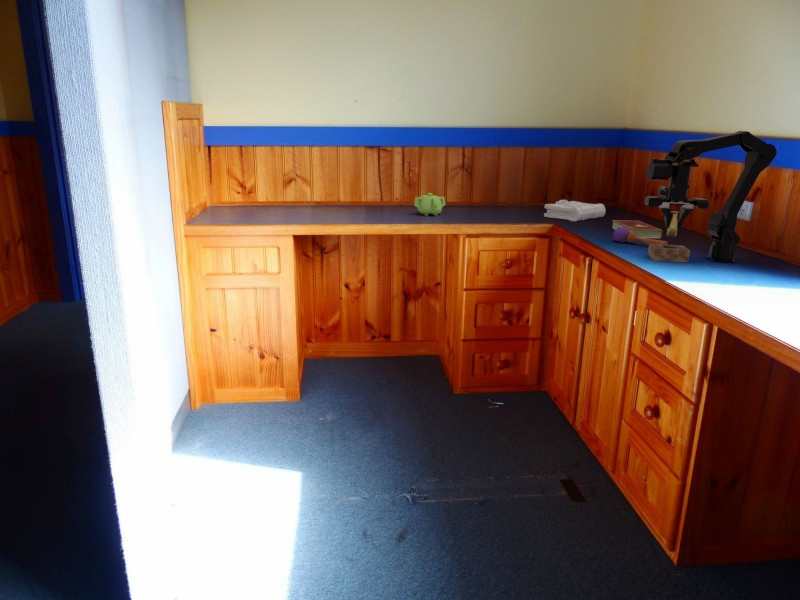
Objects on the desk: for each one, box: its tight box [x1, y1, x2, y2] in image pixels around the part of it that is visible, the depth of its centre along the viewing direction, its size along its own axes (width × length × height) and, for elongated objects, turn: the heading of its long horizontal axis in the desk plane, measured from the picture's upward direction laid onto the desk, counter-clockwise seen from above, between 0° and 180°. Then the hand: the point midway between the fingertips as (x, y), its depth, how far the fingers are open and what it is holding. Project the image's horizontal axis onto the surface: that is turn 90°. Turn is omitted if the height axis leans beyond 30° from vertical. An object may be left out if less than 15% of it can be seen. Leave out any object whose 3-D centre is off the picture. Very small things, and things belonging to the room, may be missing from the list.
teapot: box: [413, 192, 446, 217], centre depth 282 cm, size 12×12×10 cm
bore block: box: [647, 244, 691, 263], centre depth 207 cm, size 11×8×4 cm
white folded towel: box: [543, 199, 606, 222], centre depth 289 cm, size 19×28×8 cm
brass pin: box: [666, 210, 680, 238], centre depth 204 cm, size 3×3×8 cm
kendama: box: [612, 227, 669, 245], centre depth 228 cm, size 6×6×20 cm
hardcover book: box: [611, 219, 663, 240], centre depth 251 cm, size 12×21×4 cm, turn 3°
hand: (672, 228), depth 204 cm, fingers closed on brass pin, 3 cm apart
